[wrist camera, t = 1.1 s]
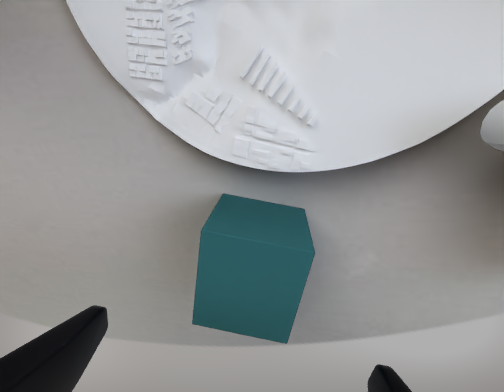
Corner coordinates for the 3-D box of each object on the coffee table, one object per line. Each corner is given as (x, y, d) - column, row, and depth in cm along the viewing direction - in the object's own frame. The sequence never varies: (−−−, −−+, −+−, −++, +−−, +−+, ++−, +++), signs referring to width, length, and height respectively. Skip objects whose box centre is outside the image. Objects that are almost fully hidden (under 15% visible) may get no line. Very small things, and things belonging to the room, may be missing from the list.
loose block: (284, 282, 15) (287, 344, 11) (213, 268, 15) (191, 324, 11) (304, 208, 13) (315, 252, 9) (222, 193, 13) (200, 229, 9)
